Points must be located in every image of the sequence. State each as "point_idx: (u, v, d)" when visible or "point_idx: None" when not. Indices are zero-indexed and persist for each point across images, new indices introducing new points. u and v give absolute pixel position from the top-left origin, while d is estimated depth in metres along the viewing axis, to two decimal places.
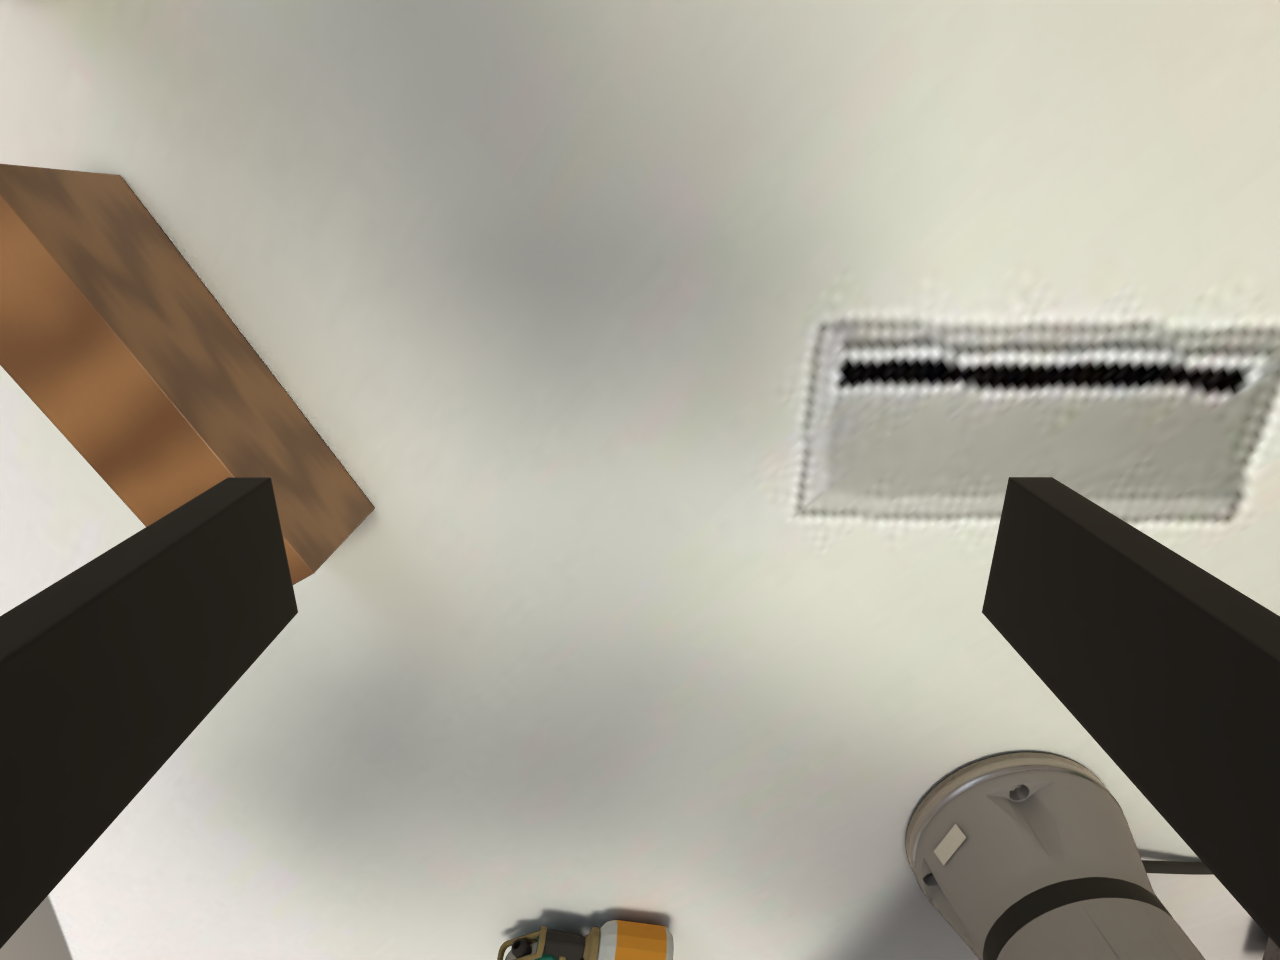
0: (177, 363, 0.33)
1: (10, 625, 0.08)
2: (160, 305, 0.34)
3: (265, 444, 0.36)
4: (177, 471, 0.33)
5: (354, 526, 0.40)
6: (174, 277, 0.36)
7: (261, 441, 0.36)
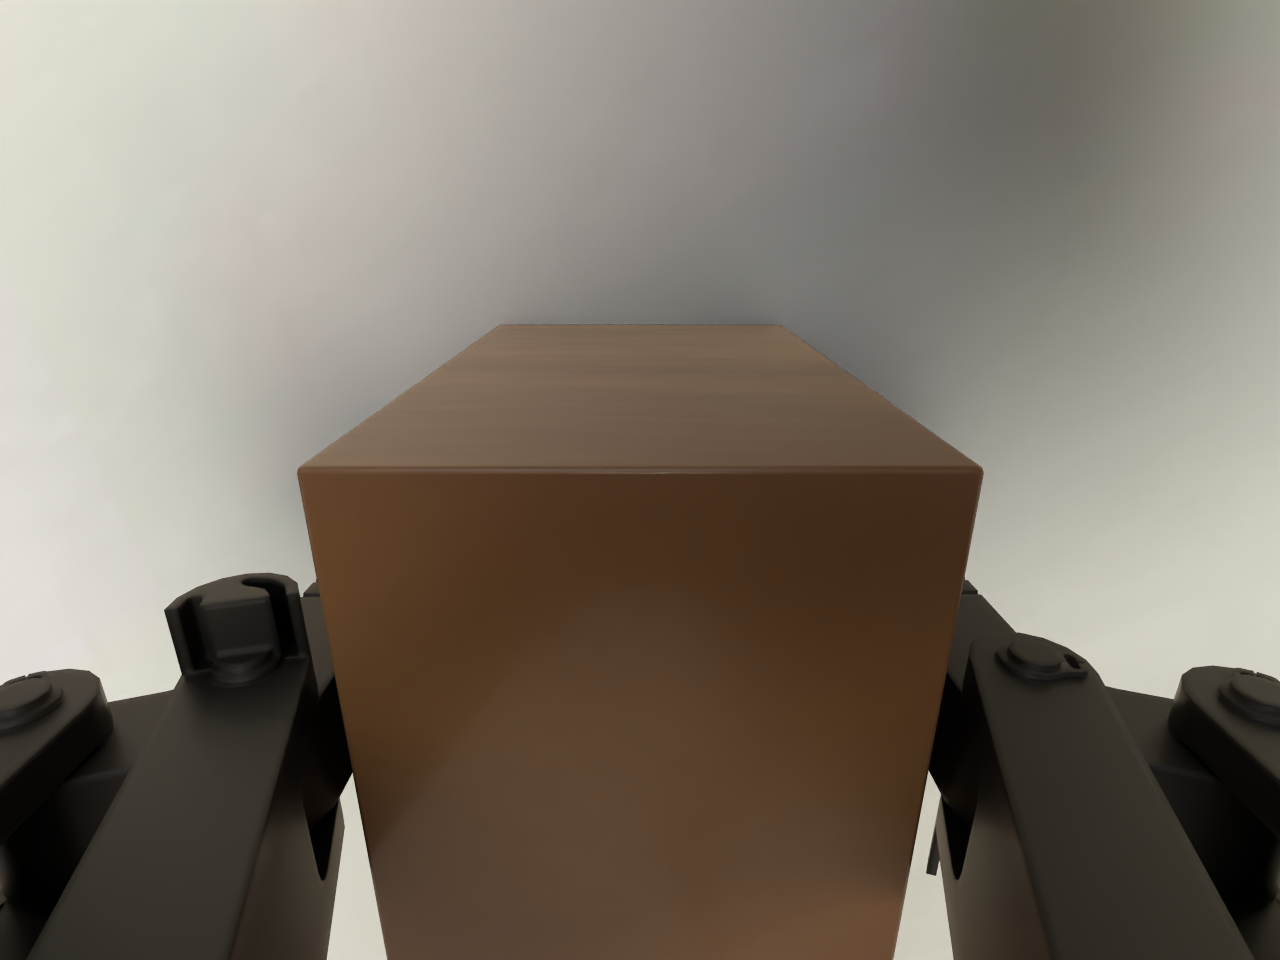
0: None
1: None
2: None
3: None
4: None
5: None
6: None
7: None
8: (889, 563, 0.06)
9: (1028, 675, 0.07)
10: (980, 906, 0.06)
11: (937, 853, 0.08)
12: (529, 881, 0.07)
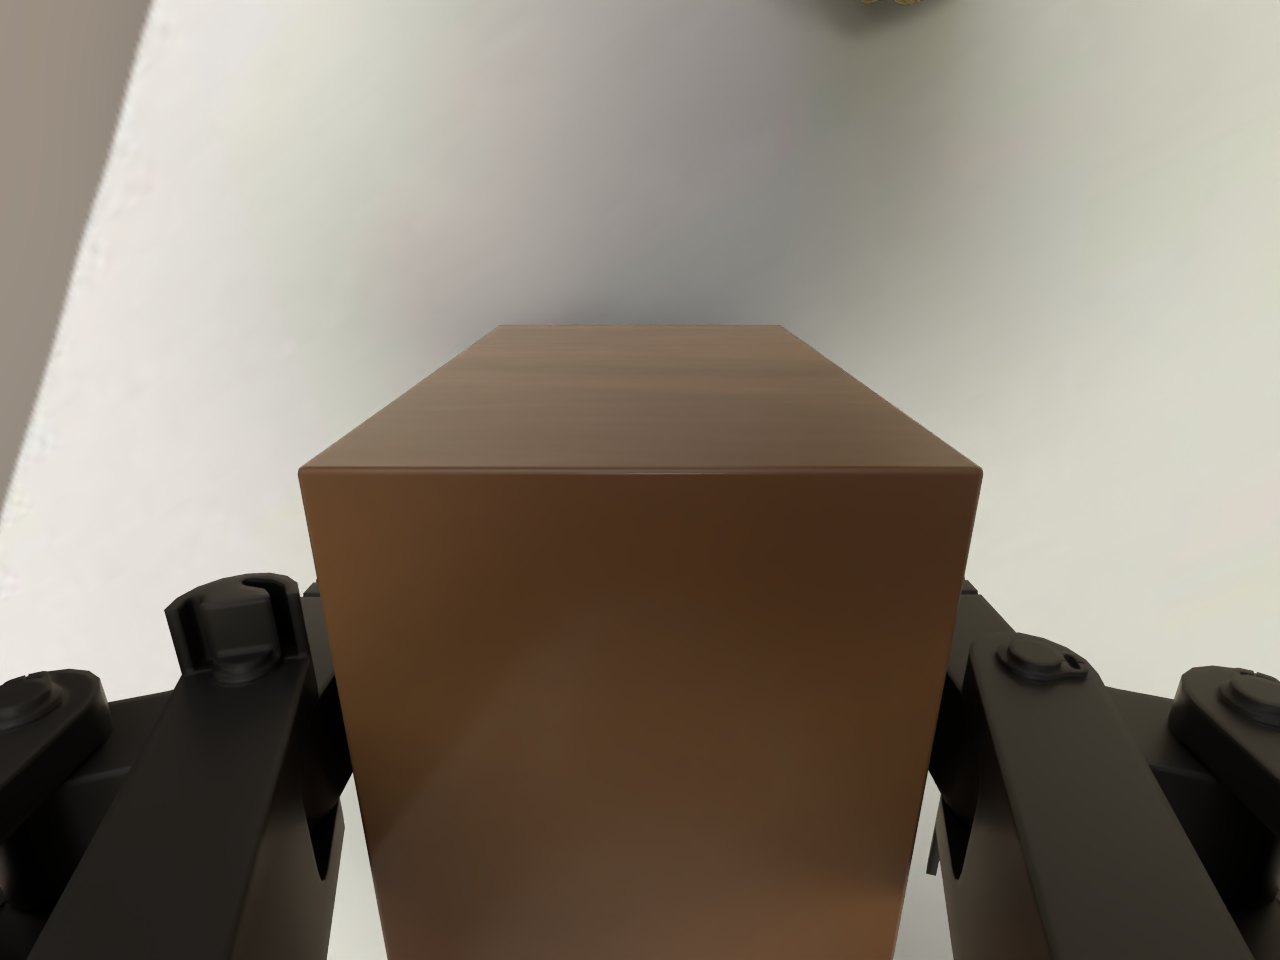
0: None
1: None
2: None
3: None
4: None
5: None
6: None
7: None
8: (887, 564, 0.06)
9: (1028, 675, 0.07)
10: (980, 906, 0.06)
11: (937, 853, 0.08)
12: (530, 882, 0.07)
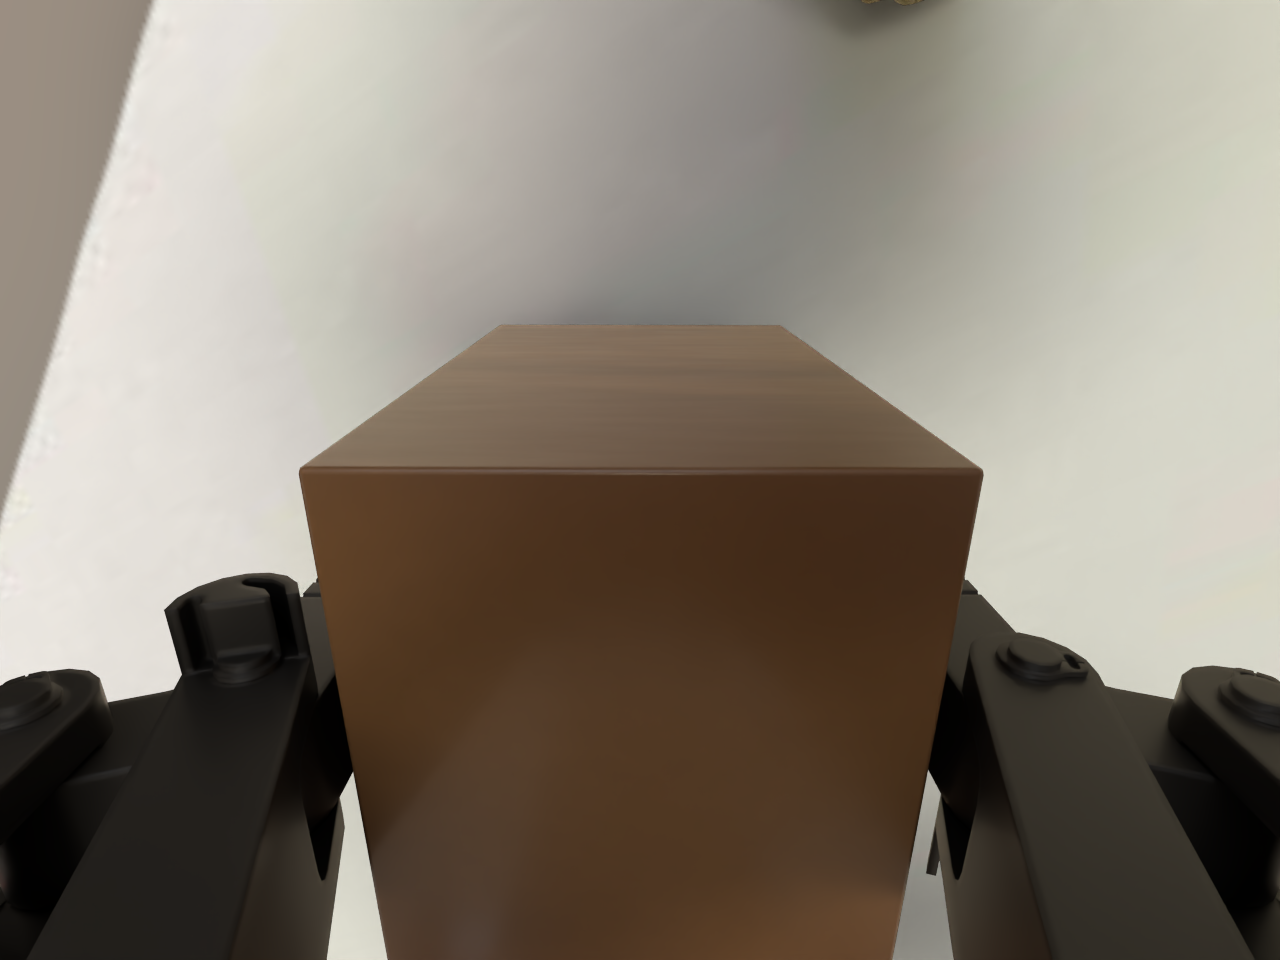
0: None
1: None
2: None
3: None
4: None
5: None
6: None
7: None
8: (888, 564, 0.06)
9: (1028, 675, 0.07)
10: (980, 906, 0.06)
11: (937, 853, 0.08)
12: (529, 880, 0.07)
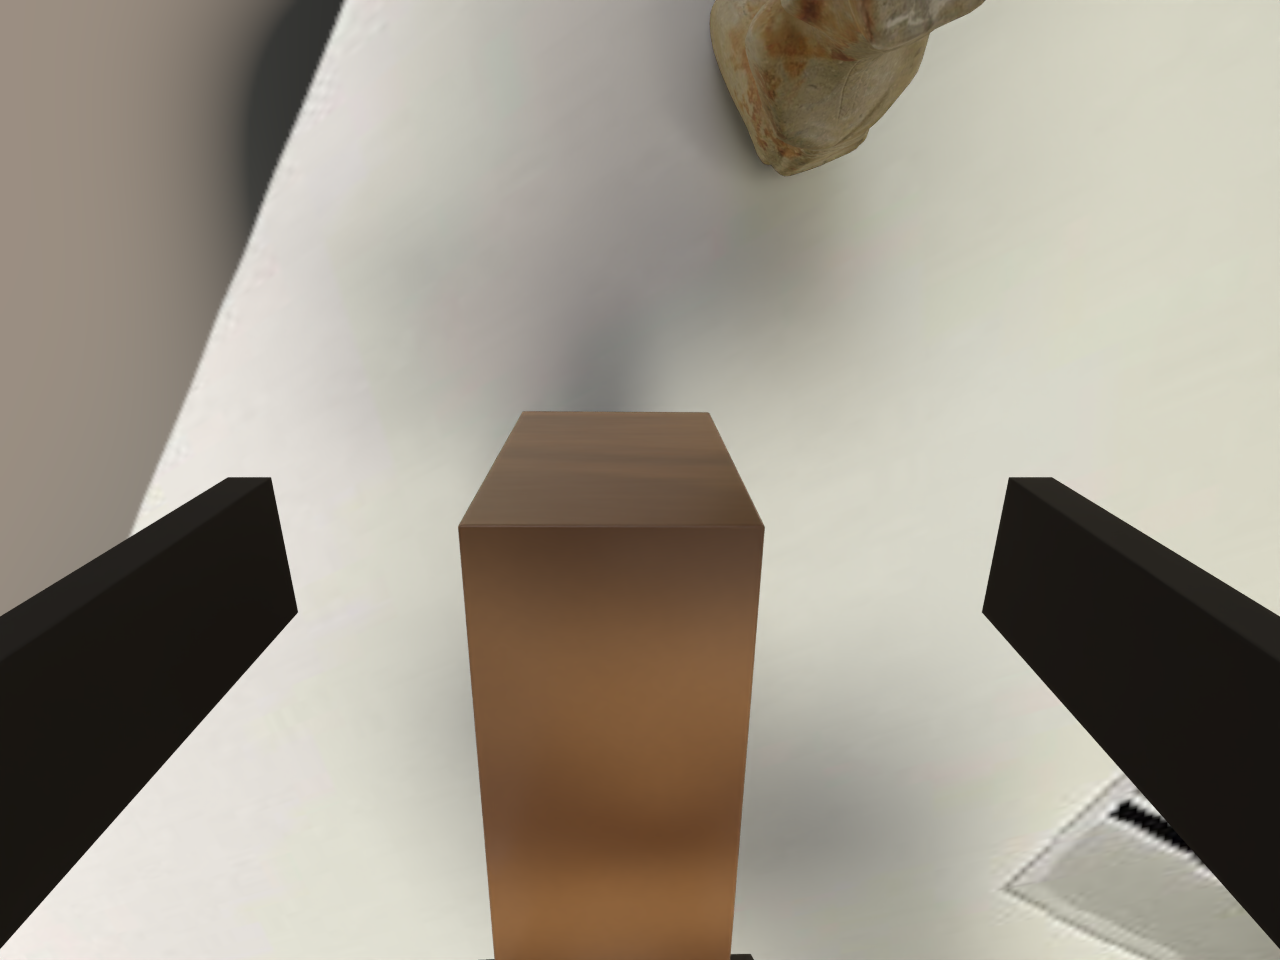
0: None
1: (10, 625, 0.08)
2: None
3: None
4: None
5: None
6: None
7: None
8: (725, 567, 0.13)
9: None
10: None
11: None
12: (556, 730, 0.14)
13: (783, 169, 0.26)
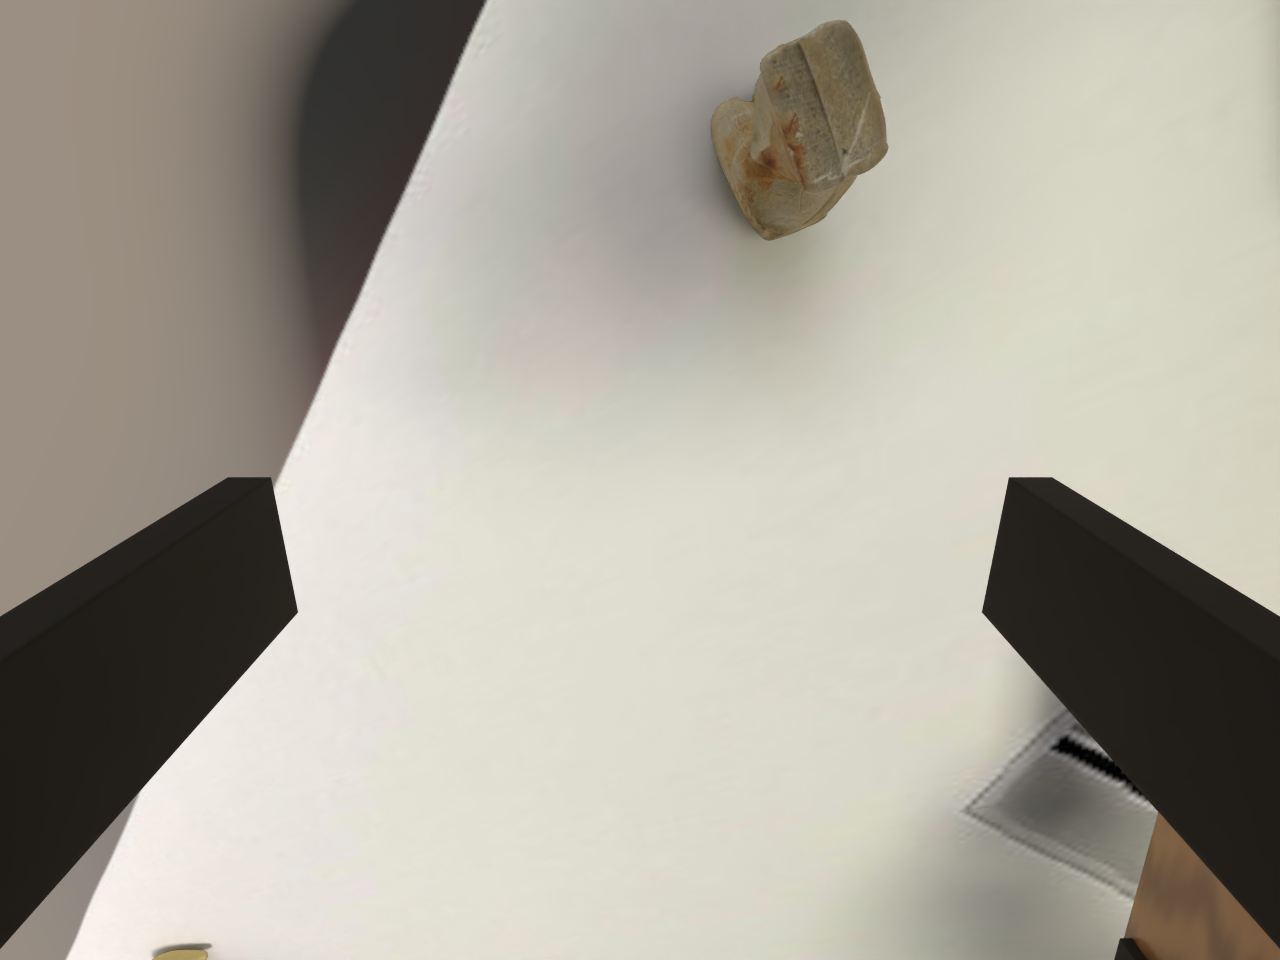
0: None
1: (10, 625, 0.08)
2: None
3: None
4: None
5: None
6: None
7: None
8: None
9: None
10: None
11: None
12: None
13: (765, 237, 0.35)
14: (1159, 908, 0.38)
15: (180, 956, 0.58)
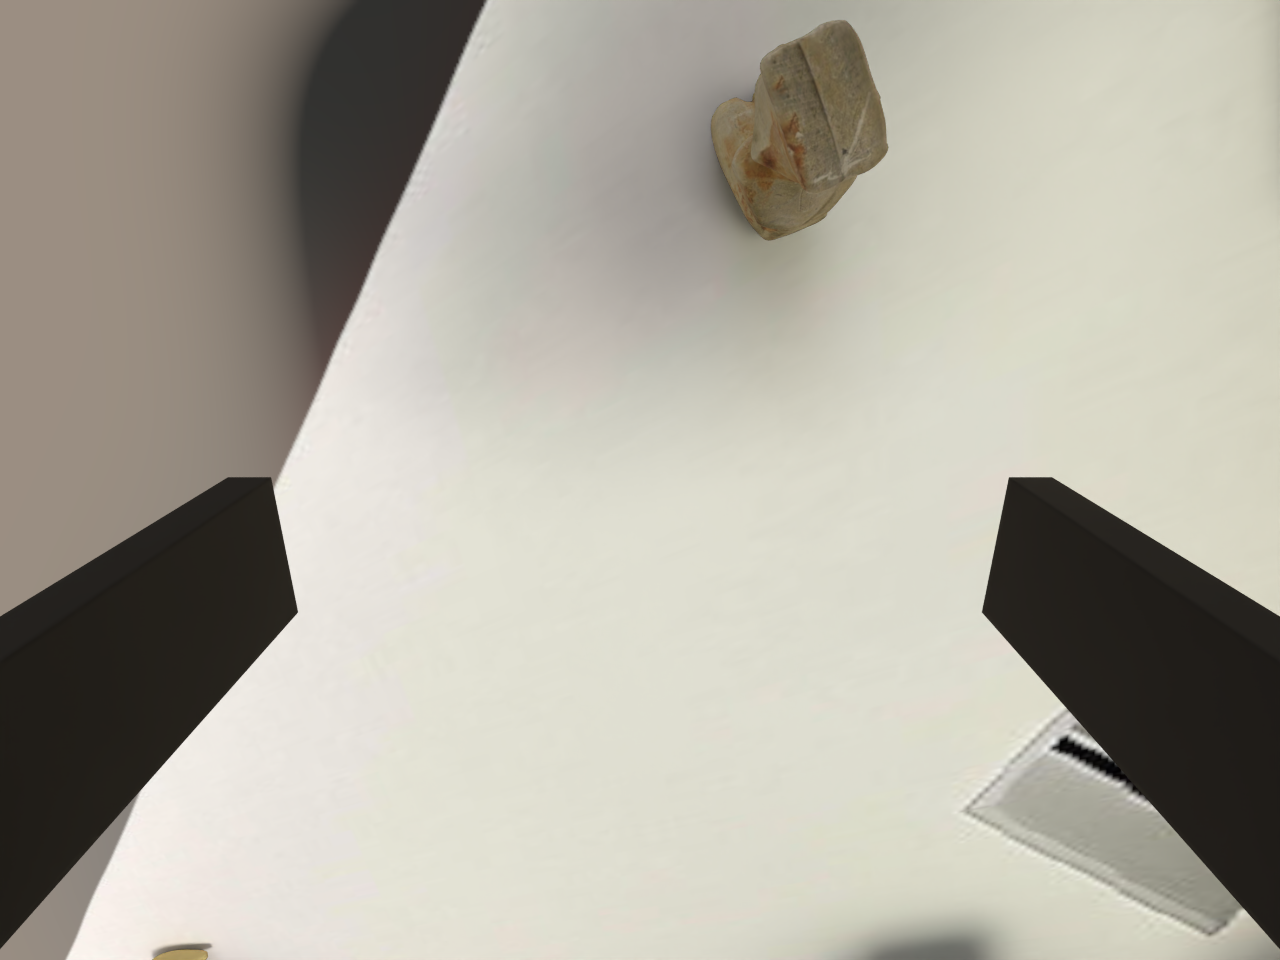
0: None
1: (10, 625, 0.08)
2: None
3: None
4: None
5: None
6: None
7: None
8: None
9: None
10: None
11: None
12: None
13: (765, 237, 0.35)
14: None
15: (180, 956, 0.58)
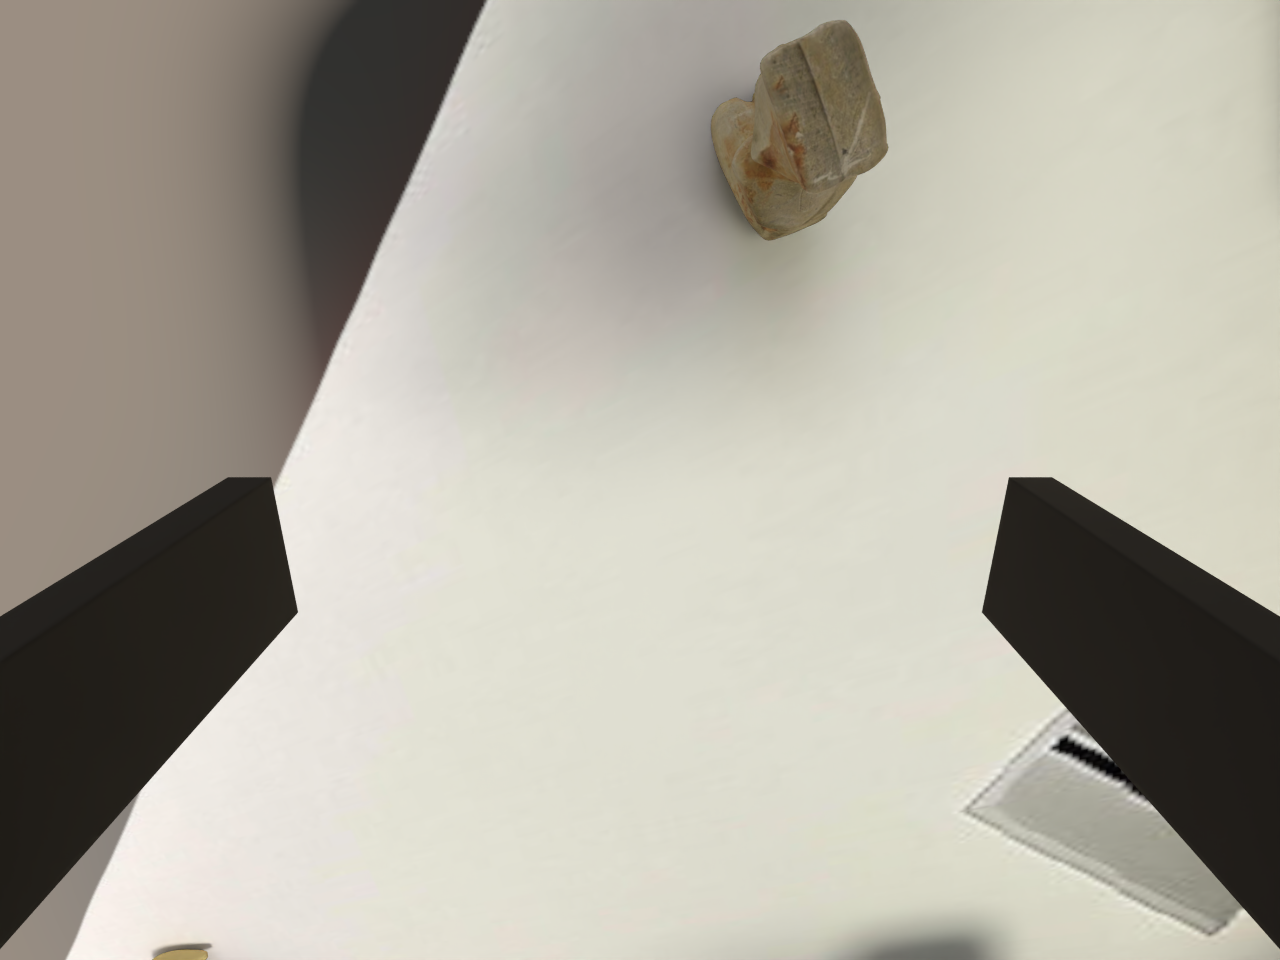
0: None
1: (10, 625, 0.08)
2: None
3: None
4: None
5: None
6: None
7: None
8: None
9: None
10: None
11: None
12: None
13: (765, 237, 0.35)
14: None
15: (180, 956, 0.58)
